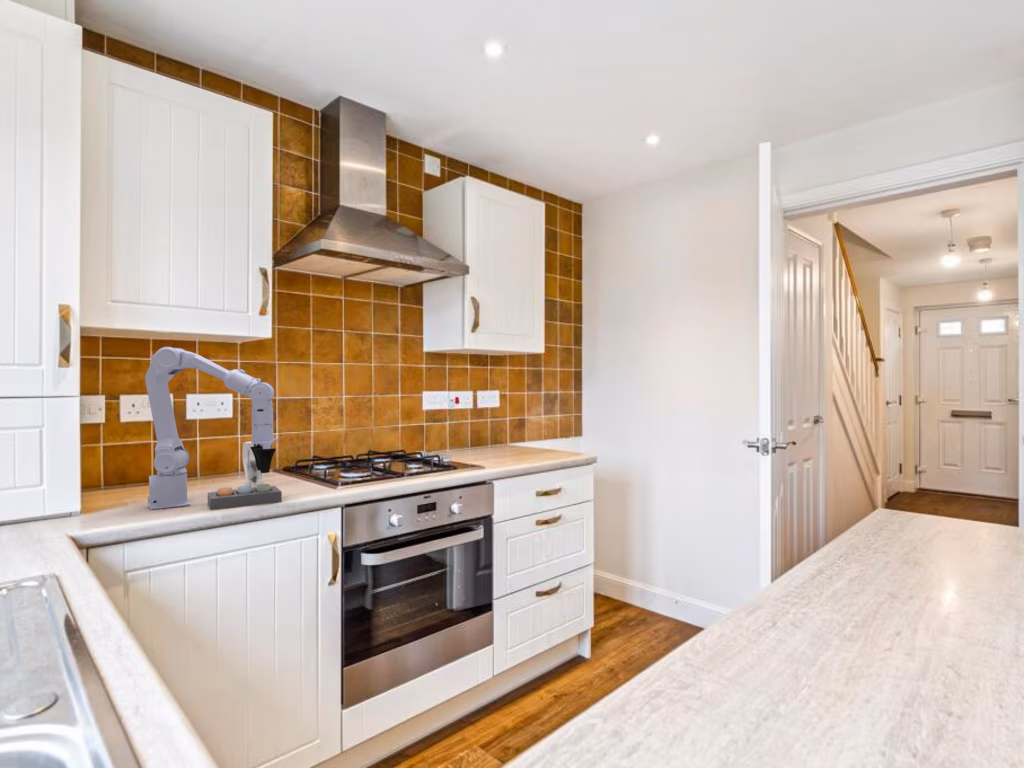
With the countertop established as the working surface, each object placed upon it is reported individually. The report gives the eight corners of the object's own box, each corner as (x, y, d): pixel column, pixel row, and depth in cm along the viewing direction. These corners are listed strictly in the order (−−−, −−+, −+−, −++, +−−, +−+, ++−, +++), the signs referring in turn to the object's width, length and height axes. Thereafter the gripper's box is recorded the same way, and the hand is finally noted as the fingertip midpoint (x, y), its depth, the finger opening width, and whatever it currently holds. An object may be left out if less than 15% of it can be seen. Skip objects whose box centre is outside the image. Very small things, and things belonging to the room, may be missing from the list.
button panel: (210, 510, 157) (210, 499, 157) (207, 503, 165) (207, 492, 165) (281, 501, 166) (281, 491, 166) (275, 495, 175) (275, 485, 175)
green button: (257, 497, 166) (257, 486, 166) (255, 494, 169) (255, 484, 169) (271, 495, 168) (271, 485, 168) (269, 493, 171) (269, 483, 171)
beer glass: (238, 489, 184) (237, 442, 184) (256, 486, 190) (256, 440, 190) (252, 491, 181) (252, 443, 181) (271, 487, 187) (270, 441, 187)
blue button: (238, 499, 163) (238, 488, 163) (237, 496, 166) (236, 486, 166) (252, 497, 165) (252, 487, 165) (250, 495, 168) (250, 485, 168)
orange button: (218, 501, 161) (218, 490, 161) (217, 499, 164) (217, 488, 164) (233, 499, 163) (232, 489, 163) (231, 497, 166) (231, 487, 166)
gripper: (282, 425, 164) (282, 473, 164) (272, 422, 176) (273, 466, 177) (254, 426, 160) (255, 476, 161) (247, 423, 173) (248, 469, 173)
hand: (263, 471), depth 168 cm, fingers open, 5 cm apart
